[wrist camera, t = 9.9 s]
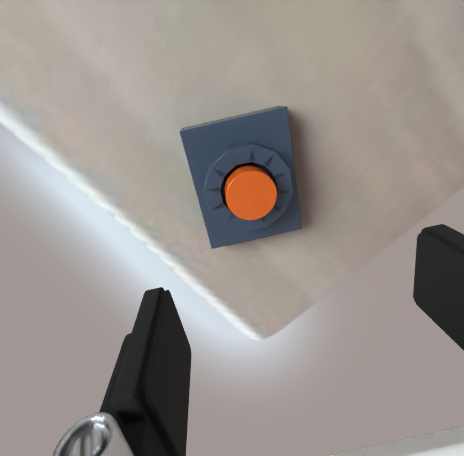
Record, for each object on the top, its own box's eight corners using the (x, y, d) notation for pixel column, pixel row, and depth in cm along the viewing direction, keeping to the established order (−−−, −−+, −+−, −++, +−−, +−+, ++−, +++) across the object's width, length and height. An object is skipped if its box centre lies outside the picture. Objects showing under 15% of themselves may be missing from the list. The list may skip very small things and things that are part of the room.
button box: (181, 128, 23) (177, 134, 19) (280, 105, 23) (294, 107, 19) (211, 237, 27) (212, 259, 23) (294, 219, 27) (308, 237, 23)
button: (219, 171, 21) (220, 177, 19) (268, 160, 21) (273, 165, 19) (230, 216, 22) (231, 225, 21) (275, 206, 22) (280, 214, 21)
